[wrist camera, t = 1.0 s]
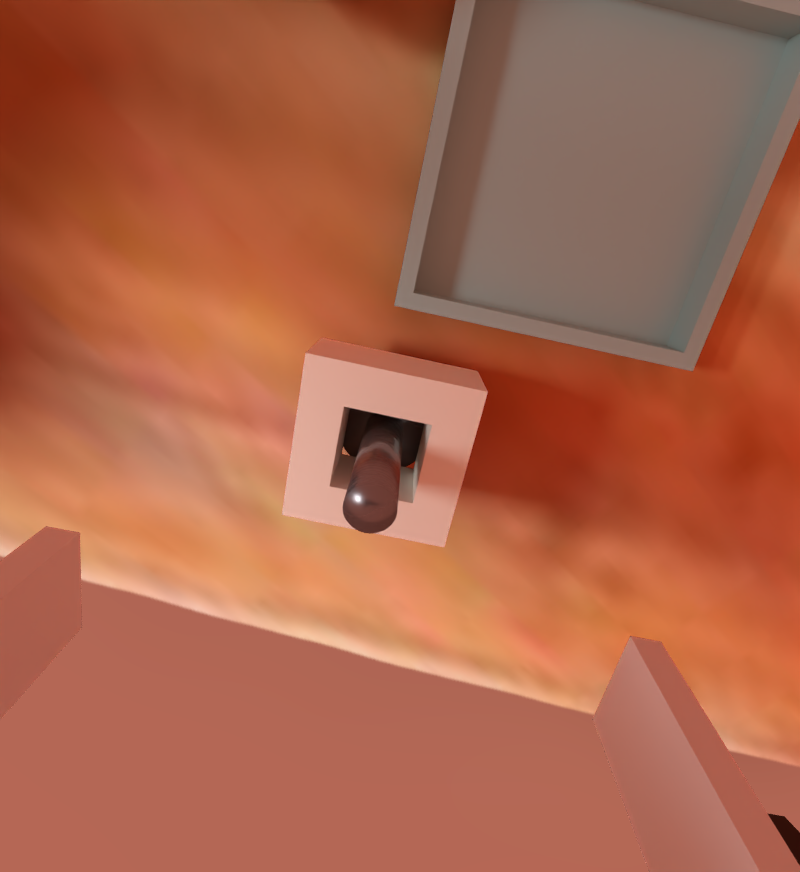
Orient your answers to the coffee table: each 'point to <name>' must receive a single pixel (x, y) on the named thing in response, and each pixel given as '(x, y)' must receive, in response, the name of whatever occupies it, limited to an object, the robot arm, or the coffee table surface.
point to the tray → (600, 167)
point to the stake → (377, 467)
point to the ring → (393, 396)
